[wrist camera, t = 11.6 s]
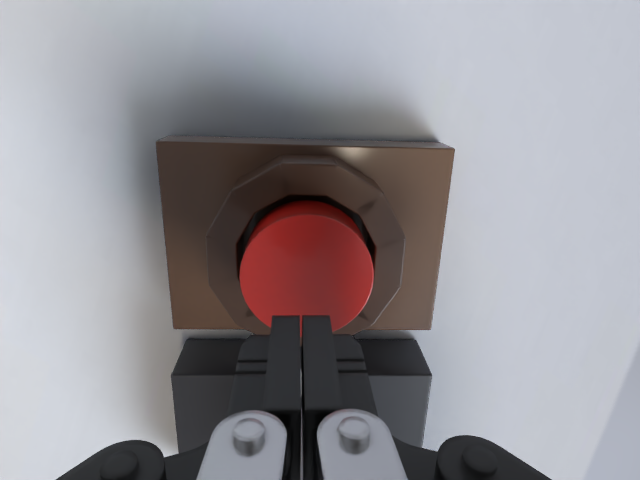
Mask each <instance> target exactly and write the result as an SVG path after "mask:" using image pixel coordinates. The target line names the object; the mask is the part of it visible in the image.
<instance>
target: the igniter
mask: <svg viewBox="0 0 640 480" xmlns="http://www.w3.org/2000/svg"><path fill="white" fill-rule="evenodd" d="M156 151H157V161H158V172H159V182H160V193H161V203H162V214H163V225H164V235H165V246H166V256H167V267H168V277H169V288H170V298H171V309H172V319H173V328H174V329H246V330H248V331H250V332H252V333H254V334H256V335H270V332H271V327H269V326H267V325H266V324H264V323H263V322H262V321H260V320H259V319H258V318H257V317H256V316H255V315H254V313H253V312H252V311H251V310H250V308H249V307H248V305H247V303H246V302H245V299H244V297H243V294H242V291H241V287H240V279H239V275H240V265H241V261H242V258H243V255H244V252H245V249H246V245H247V242H248V239H249V237H250V234H251V233H252V231H253V229H254V227H255V226H256V224H257V223H258V222H259V221H260V220H261V219H262V218H263V217H264V216H265V215H266V214H267V213H269V212H270V211H272V210H273V209H275V208H277V207H279V206H281V205H283V204H286V203H290V202H294V201H302V200H311V201H319V202H323V203H326V204H329V205H332V206H334V207H336V208H338V209H340V210H341V211H342V212H344V213H345V214H347V215H348V216H349V217H350V218H351V219H352V220H353V221H354V223H355V224H356V225H357V227H358V228H359V230H360V232H361V234H362V236H363V238H364V241H365V243H366V246H367V248H368V251H369V253H370V256H371V259H372V263H373V269H374V281H373V287H372V291H371V294H370V296H369V299H368V301H367V303H366V304H365V306H364V308H363V309H362V310H361V312H360V313H359V314H358V315H357V316H356V317H355V318H354V319H353V320H352V321H351V322H349V323H348V324H347V325H345V326H343V327H342V328H340V329H338V330H336V331H333V332H332V334H351V336H352V335H354V334H356V333H358V332H360V331H362V330H431V325H432V317H433V310H434V302H435V295H436V287H437V279H438V272H439V264H440V257H441V249H442V242H443V234H444V227H445V219H446V212H447V204H448V197H449V189H450V182H451V174H452V167H453V159H454V152H455V149H454V148H452V147H449V146H447V145H445V144H443V143H440V142H411V141H372V140H333V139H294V138H255V137H216V136H177V135H170V136H168V137H165V138H163V139H160V140H158V141H156ZM300 346H302V337H300Z"/></svg>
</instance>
